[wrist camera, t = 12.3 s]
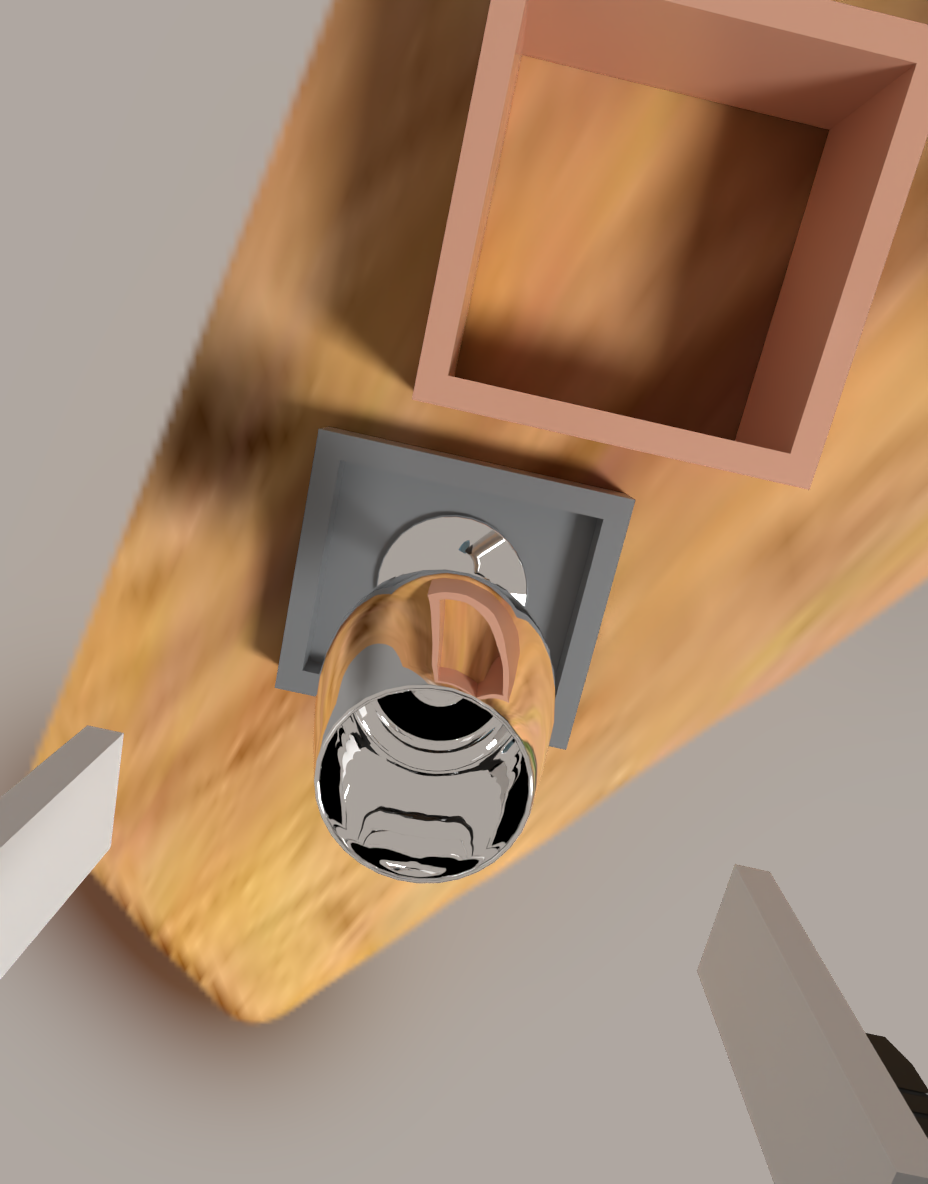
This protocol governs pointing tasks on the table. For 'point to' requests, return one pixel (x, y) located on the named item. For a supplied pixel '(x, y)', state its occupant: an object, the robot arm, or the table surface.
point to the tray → (450, 487)
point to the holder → (826, 235)
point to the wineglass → (434, 707)
